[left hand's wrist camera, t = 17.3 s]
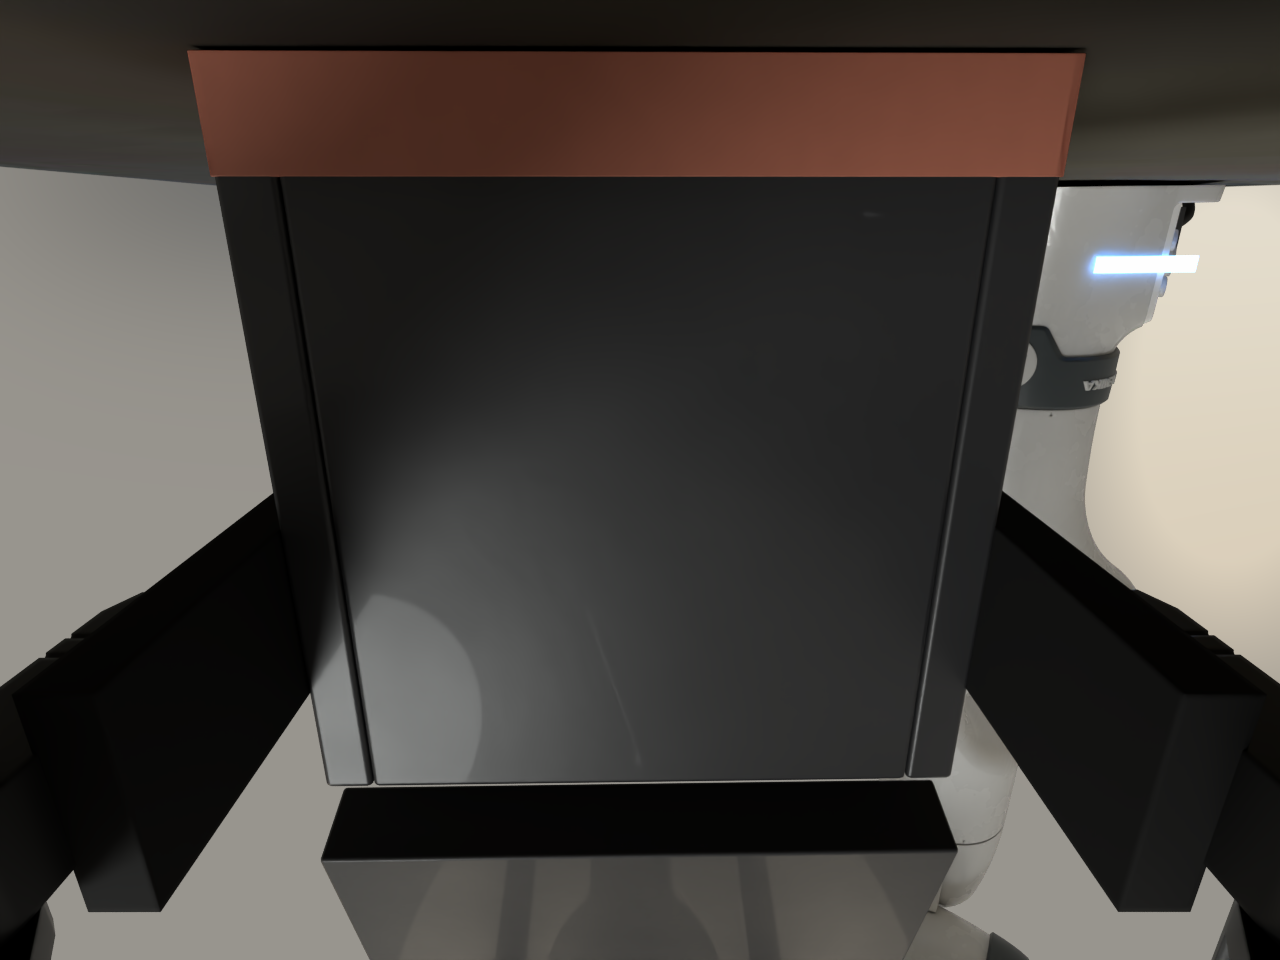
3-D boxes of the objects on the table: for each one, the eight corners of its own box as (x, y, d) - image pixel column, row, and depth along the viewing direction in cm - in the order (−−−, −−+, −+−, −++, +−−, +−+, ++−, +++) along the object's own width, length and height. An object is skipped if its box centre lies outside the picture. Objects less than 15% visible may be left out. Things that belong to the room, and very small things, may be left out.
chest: (825, 143, 19) (796, 509, 22) (437, 142, 19) (469, 512, 22) (1086, 53, 8) (953, 780, 12) (186, 49, 8) (324, 789, 12)
